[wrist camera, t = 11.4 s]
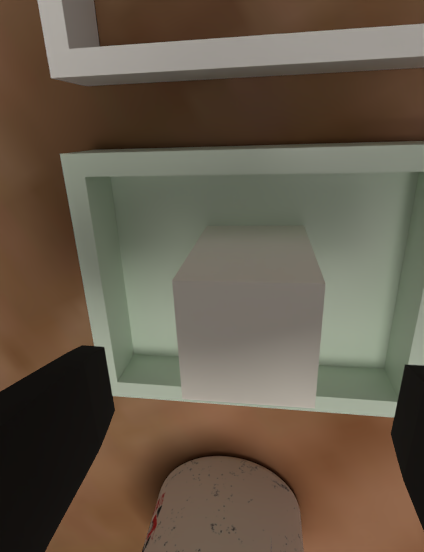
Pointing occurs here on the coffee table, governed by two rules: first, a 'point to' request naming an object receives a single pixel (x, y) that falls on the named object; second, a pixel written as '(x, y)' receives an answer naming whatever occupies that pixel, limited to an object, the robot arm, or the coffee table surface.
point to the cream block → (250, 316)
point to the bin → (217, 51)
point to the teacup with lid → (224, 510)
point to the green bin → (256, 212)
